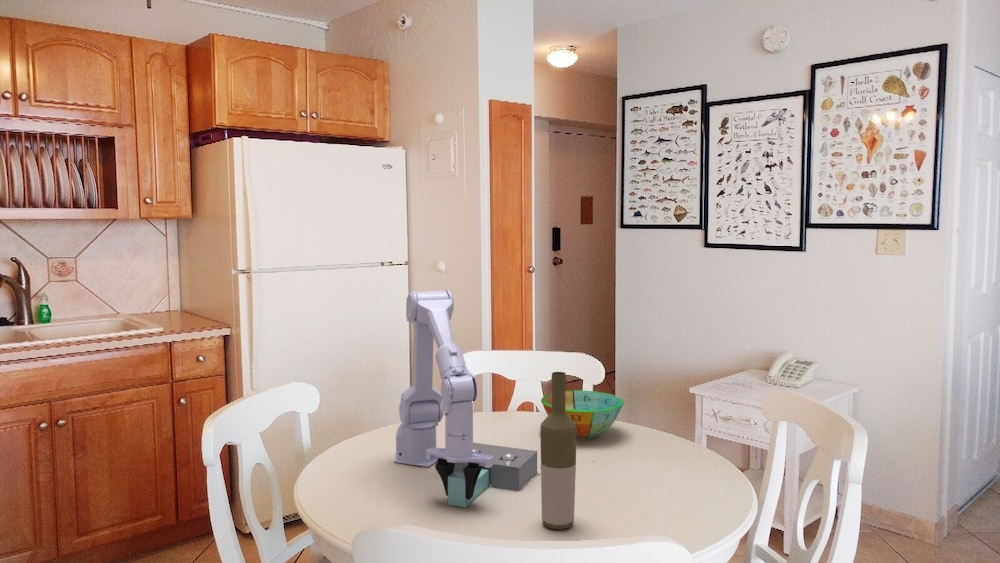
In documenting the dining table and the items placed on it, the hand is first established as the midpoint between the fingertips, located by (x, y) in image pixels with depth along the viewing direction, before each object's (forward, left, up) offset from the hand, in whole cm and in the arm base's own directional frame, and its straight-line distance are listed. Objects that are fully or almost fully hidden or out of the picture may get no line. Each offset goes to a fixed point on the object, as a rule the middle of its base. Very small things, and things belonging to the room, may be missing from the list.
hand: (459, 496), depth 149 cm
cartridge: (0, +6, -2) cm, 6 cm away
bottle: (+22, -2, -2) cm, 22 cm away
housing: (0, +17, -2) cm, 17 cm away
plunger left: (-5, +16, +2) cm, 17 cm away
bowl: (+11, +54, -2) cm, 55 cm away
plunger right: (+4, +16, +2) cm, 17 cm away
